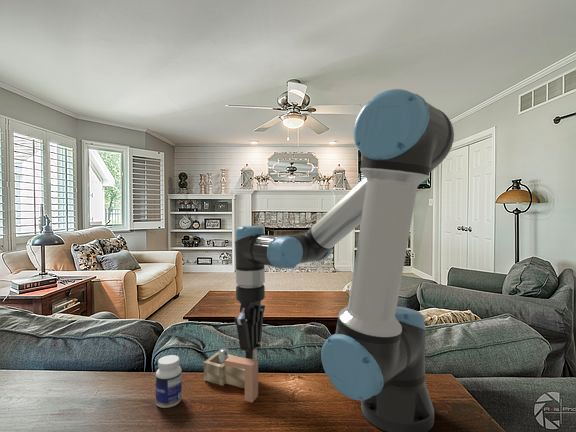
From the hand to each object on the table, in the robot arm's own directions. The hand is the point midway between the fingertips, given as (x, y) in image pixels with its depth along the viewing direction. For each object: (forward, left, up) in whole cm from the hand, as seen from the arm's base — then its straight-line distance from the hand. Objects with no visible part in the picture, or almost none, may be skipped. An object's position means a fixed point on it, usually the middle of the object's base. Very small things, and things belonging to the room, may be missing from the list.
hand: (251, 372), depth 86 cm
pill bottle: (+13, +16, -2) cm, 21 cm away
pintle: (+7, +2, -2) cm, 8 cm away
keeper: (-1, +8, -2) cm, 8 cm away
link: (+4, +3, -2) cm, 5 cm away
